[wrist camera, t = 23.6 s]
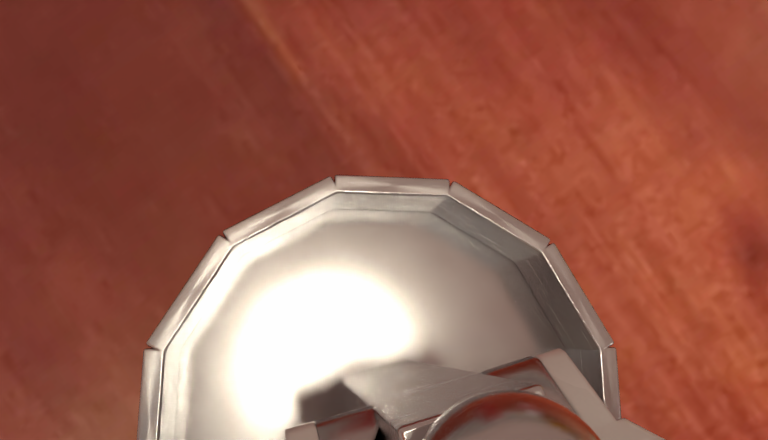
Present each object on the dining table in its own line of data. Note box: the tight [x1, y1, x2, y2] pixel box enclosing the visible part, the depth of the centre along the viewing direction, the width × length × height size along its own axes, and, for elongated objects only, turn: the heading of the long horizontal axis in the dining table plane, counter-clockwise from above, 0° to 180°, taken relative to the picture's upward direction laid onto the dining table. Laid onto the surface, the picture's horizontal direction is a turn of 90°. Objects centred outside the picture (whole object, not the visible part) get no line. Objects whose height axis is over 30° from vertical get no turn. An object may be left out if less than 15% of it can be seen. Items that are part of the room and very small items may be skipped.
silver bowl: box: [137, 175, 621, 440], centre depth 11 cm, size 12×12×12 cm
